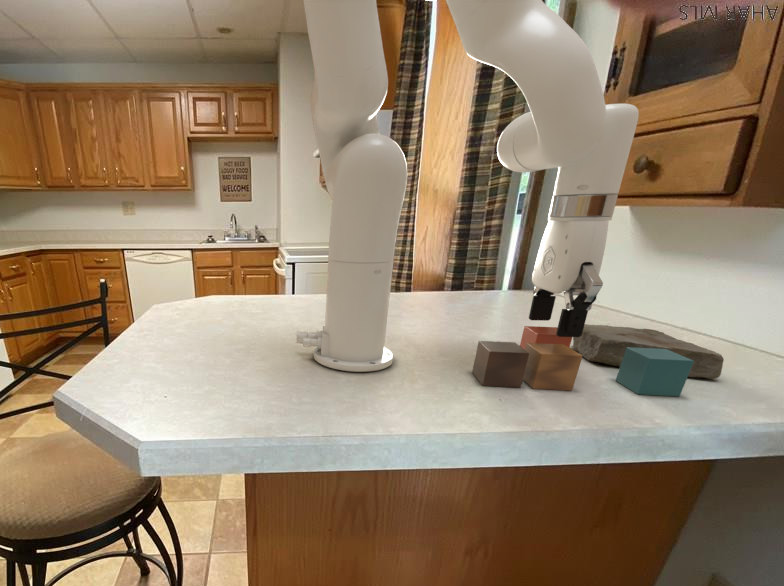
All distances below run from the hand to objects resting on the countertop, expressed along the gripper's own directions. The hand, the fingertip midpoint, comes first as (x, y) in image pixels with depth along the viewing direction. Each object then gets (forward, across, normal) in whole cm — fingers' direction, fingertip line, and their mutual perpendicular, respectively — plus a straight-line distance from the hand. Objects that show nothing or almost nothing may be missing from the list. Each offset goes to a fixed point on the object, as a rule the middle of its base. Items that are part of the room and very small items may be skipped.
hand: (552, 327), depth 66 cm
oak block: (+5, +10, -4) cm, 12 cm away
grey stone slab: (+6, -3, +14) cm, 16 cm away
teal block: (+6, +10, +9) cm, 14 cm away
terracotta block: (+6, 0, -1) cm, 6 cm away
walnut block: (+5, +10, -11) cm, 16 cm away
